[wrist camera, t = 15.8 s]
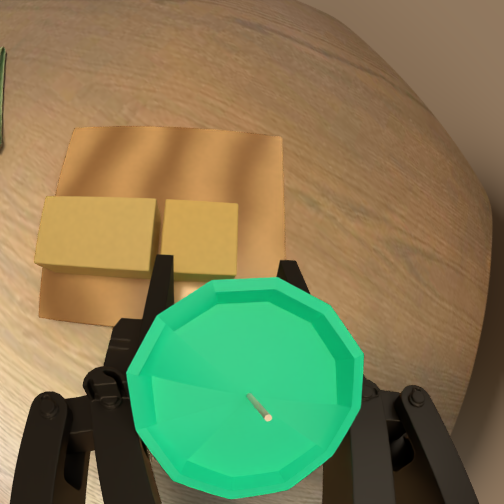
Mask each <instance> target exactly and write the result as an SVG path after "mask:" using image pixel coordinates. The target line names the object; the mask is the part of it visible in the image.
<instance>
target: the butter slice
mask: <svg viewBox="0 0 504 504" xmlns="http://www.w3.org/2000/svg"><path fill="white" fill-rule="evenodd" d="M237 246H238V204H237V203H223V202H208V201H191V200H173V199H166V201H165V209H164V218H163V229H162V239H161V251H160V254H163V255H174V281H187V282H209V281H211V280H222V279H234V278H235V277H236V275H237Z"/></svg>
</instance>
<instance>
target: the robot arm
mask: <svg viewBox="0 0 504 504" xmlns="http://www.w3.org/2000/svg"><path fill="white" fill-rule="evenodd" d="M276 277H278V278H280V279H282V280H284V281H286V282H288V283H290V284H291V285H293V286H295V287H297V288H299V289H301V290H303V291H305V292H306V293H308V294H310V292H309V290H308V288H307V285H306V283H305V281H304V278H303V276H302V274H301V271H300V269H299V267H298V265H297V262H296V261H292V260H280V262H279V267H278V272H277V276H276ZM172 305H174V255H163V254H157V255H156V259H155V263H154V267H153V271H152V276H151V280H150V284H149V289H148V293H147V298H146V303H145V307H144V312H143V317H142V319H131V318H121V319H120V320H119V321H118V322H117V323H116V325H115V326H114V327H113V331H112V335H111V340H110V342H109V346H108V350H107V354H106V358H105V362H104V366H102V367H98V368H95V369H93V370H92V371H90V372H89V373H88V374H87V375H86V377H85V378H84V382H83V388H84V390H85V392H86V394H87V395H85V396H81V397H76V398H68V399H64V398H63V397H62V396H61V395H60V394H58V393H56V392H44V393H41V394H39V395H38V396H37V397H36V398H35V399H34V401H33V402H32V404H31V408H30V411H29V414H28V418H27V422H26V425H25V429H24V433H23V437H22V441H21V445H20V449H19V454H18V459H17V463H16V468H15V474H14V479H13V485H12V492H11V499H10V504H85V499H86V487H87V477H88V467H89V459H90V451H94V450H95V455H96V462H97V469H98V475H99V480H100V486H101V491H102V496H103V501H104V504H162V502H161V499H160V495H159V492H158V488H157V485H156V481H155V478H154V474H153V470H152V466H151V462H150V458H149V454H148V450H147V446H146V445H145V443H144V442H143V440H142V439H141V437H140V436H139V434H138V433H137V431H136V429H135V424H134V419H133V413H132V407H131V401H130V395H129V389H128V382H127V374H126V372H127V370H128V368H129V366H130V364H131V362H132V360H133V359H134V357H135V355H136V353H137V351H138V349H139V347H140V345H141V344H142V342H143V340H144V338H145V336H146V334H147V332H148V331H149V329H150V327H151V325H152V323H153V321H154V320H155V318H156V316H157V315H158V314H160V313H161V312H163V311H164V310H166V309H168V308H169V307H171V306H172ZM322 504H479V502H478V499H477V497H476V494H475V492H474V489H473V487H472V485H471V482H470V480H469V478H468V475H467V473H466V470H465V468H464V466H463V464H462V461H461V459H460V457H459V455H458V453H457V450H456V448H455V446H454V444H453V442H452V440H451V438H450V435H449V433H448V431H447V429H446V427H445V425H444V423H443V421H442V419H441V417H440V415H439V413H438V411H437V409H436V407H435V405H434V403H433V402H432V400H431V398H430V396H429V394H428V393H427V392H426V391H425V390H424V389H423V388H421V387H419V386H416V385H409V386H407V387H405V388H404V389H403V391H402V392H401V393H398V392H390V391H383V390H380V389H379V388H378V386H377V385H376V384H375V383H373V382H372V381H370V380H367V379H366V378H365V376H364V374H363V383H362V397H361V408H360V410H359V412H358V414H357V415H356V417H355V419H354V421H353V423H352V424H351V426H350V428H349V430H348V431H347V433H346V435H345V436H344V438H343V440H342V441H341V443H340V445H339V446H338V448H337V450H336V451H335V453H334V454H333V456H332V457H330V458H329V459H328V460H327V461H325V462H324V463H323V496H322Z"/></svg>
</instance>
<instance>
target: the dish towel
mask: <svg viewBox="0 0 504 504" xmlns="http://www.w3.org/2000/svg"><path fill="white" fill-rule="evenodd" d="M4 63H5V47H1V48H0V146H1V143H2V102H3V81H4Z"/></svg>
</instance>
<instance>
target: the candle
mask: <svg viewBox="0 0 504 504" xmlns="http://www.w3.org/2000/svg"><path fill="white" fill-rule="evenodd" d="M363 364H364V353H363V352H362V350H361V349H360V347H359V346H358V344H357V343H356V341H355V340H354V338H353V337H352V336H351V334H350V333H349V331H348V330H347V328H346V327H345V325H344V324H343V322H342V321H341V320H340V318H339V317H338V315H337V314H336V312H335V311H334V309H333V308H332V307H331V305H329V304H327V303H325V302H323V301H321V300H320V299H318V298H316V297H314V296H312V295H310V294H308V293H306V292H305V291H303V290H301V289H299V288H297V287H295V286H293V285H291V284H290V283H288V282H286V281H284V280H282V279H280V278H278V277H268V278H246V279H222V280H211V281H209V282H208V283H206V284H205V285H203V286H202V287H200V288H198V289H197V290H195V291H194V292H192V293H191V294H189V295H188V296H186V297H185V298H183V299H181V300H180V301H178V302H177V303H175V304H174V305H172V306H171V307H169V308H168V309H166V310H164V311H163V312H161V313H160V314H158V315H157V316H156V318H155V320H154V321H153V323H152V325H151V327H150V329H149V331H148V332H147V334H146V336H145V338H144V340H143V342H142V344H141V345H140V347H139V349H138V351H137V353H136V355H135V357H134V359H133V360H132V362H131V364H130V366H129V368H128V370H127V372H126V374H127V382H128V389H129V395H130V401H131V407H132V413H133V419H134V424H135V429H136V431H137V433H138V434H139V436H140V437H141V439H142V440H143V442H144V443H145V445H146V446H147V447H148V449H149V450H150V452H151V453H152V454H153V456H154V457H155V458H156V460H157V461H158V463H159V464H160V465H161V466H162V468H163V469H164V470H165V472H166V473H167V474H168V475H169V477H170V478H171V479H172V480H173V481H174V482H177V483H180V484H183V485H185V486H188V487H191V488H194V489H197V490H200V491H203V492H206V493H210V494H213V495H216V496H220V497H223V498H227V499H236V498H244V497H252V496H258V495H264V494H270V493H276V492H281V491H286V490H289V489H290V488H292V487H293V486H294V485H296V484H297V483H299V482H300V481H301V480H303V479H304V478H305V477H307V476H308V475H309V474H310V473H312V472H313V471H314V470H316V469H317V468H318V467H319V466H321V465H322V464H323V463H324V462H325V461H327V460H328V459H329V458H330V457H332V456H333V454H334V453H335V451H336V450H337V448H338V446H339V445H340V443H341V441H342V440H343V438H344V436H345V435H346V433H347V431H348V430H349V428H350V426H351V424H352V423H353V421H354V419H355V417H356V415H357V414H358V412H359V410H360V408H361V397H362V383H363Z"/></svg>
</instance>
